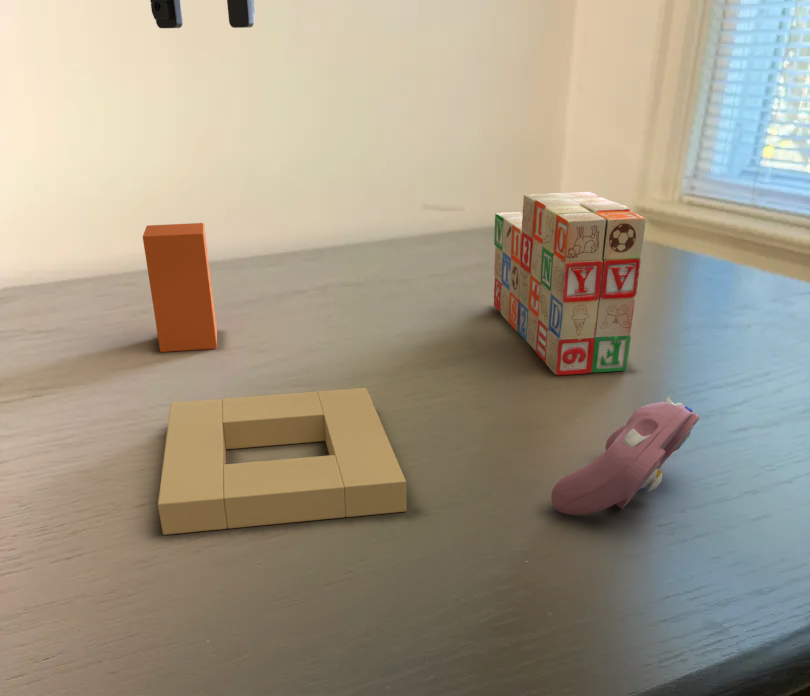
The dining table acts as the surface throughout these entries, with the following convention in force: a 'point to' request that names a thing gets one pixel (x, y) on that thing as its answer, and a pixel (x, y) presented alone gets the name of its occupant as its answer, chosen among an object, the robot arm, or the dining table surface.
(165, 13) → the robot arm
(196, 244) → the upright block
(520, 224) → the stack of blocks
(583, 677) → the dining table surface
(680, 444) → the pink curved elongated piece
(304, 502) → the base pad
